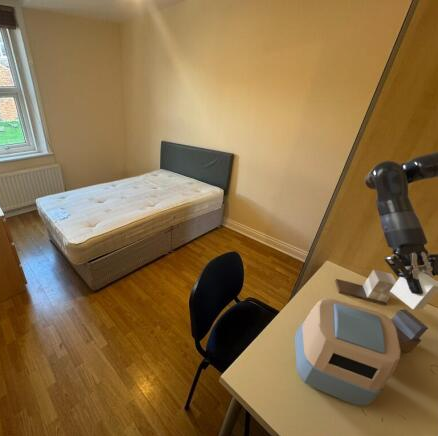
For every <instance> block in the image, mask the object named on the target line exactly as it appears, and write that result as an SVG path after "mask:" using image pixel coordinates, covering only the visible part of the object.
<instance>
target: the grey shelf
mask: <svg viewBox="0 0 438 436" xmlns="http://www.w3.org/2000/svg"><path fill="white" fill-rule="evenodd" d="M390 320H391V321H392V322H393V323H394V325H395V327H396V329H397V334H398V339H399V344H400V350H401V352H400V354H404V353H411V352H412V351H413V350H414V349H416V347H417V346H418V345H419V344H420V343H421V342H422V339H420V338H421V336H423V335H424V333H426V331H428V329H429V327H428V326H427V325H426V324H425V323H423V322H422V321H421V320H420V319H418V318H417V317H416V316H415V315H414V314H413V313H411V312H410V311H408V310H407V309H406V308H401V309H398V310H397V311H396V312H395V314H394V315H393V317H392V318H391V319H390Z"/></svg>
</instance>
